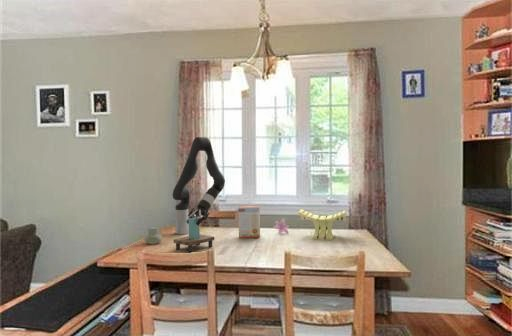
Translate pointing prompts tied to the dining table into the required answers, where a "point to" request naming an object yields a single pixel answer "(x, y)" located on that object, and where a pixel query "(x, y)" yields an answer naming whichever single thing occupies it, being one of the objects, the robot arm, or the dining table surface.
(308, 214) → the slatted curved stool
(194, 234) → the teal post
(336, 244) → the dining table surface
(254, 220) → the cracker box
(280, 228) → the lily
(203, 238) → the small wooden table
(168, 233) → the dining table surface
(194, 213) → the robot arm
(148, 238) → the air freshener
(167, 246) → the dining table surface
